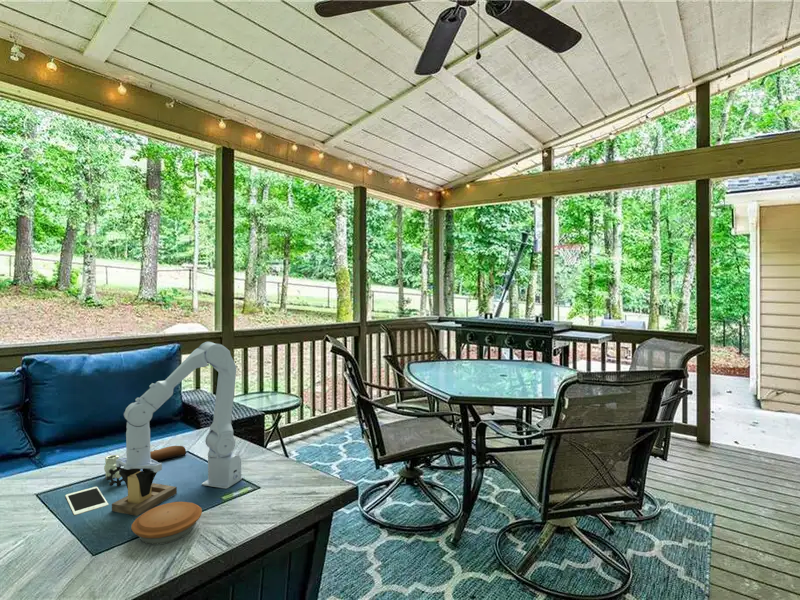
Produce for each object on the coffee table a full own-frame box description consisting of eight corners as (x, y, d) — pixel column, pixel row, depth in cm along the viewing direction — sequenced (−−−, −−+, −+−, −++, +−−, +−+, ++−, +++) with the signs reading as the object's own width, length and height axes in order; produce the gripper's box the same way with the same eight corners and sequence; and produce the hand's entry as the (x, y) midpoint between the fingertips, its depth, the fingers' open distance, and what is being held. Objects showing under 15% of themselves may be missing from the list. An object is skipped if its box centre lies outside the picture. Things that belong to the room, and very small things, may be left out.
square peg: (151, 500, 120) (151, 472, 120) (139, 507, 116) (138, 478, 116) (140, 498, 121) (140, 470, 121) (127, 505, 117) (127, 476, 117)
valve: (98, 478, 137) (106, 490, 128) (98, 457, 137) (105, 468, 128) (122, 472, 142) (131, 483, 133) (122, 452, 142) (131, 462, 133)
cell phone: (74, 516, 114) (74, 514, 114) (65, 496, 125) (65, 494, 125) (108, 506, 119) (108, 504, 119) (97, 488, 130) (97, 486, 130)
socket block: (176, 493, 126) (176, 486, 126) (137, 515, 113) (137, 508, 113) (153, 489, 128) (152, 483, 128) (111, 511, 116) (111, 503, 116)
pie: (143, 559, 95) (142, 537, 95) (123, 533, 105) (123, 513, 105) (212, 530, 106) (212, 510, 106) (188, 509, 117) (188, 491, 116)
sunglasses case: (179, 449, 161) (182, 436, 159) (184, 463, 157) (187, 450, 154) (124, 462, 149) (125, 448, 147) (127, 477, 145) (129, 464, 142)
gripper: (105, 448, 117) (106, 497, 117) (146, 453, 113) (146, 504, 113) (128, 439, 124) (129, 485, 124) (167, 444, 119) (168, 492, 119)
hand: (139, 494), depth 119 cm, fingers closed on square peg, 4 cm apart
